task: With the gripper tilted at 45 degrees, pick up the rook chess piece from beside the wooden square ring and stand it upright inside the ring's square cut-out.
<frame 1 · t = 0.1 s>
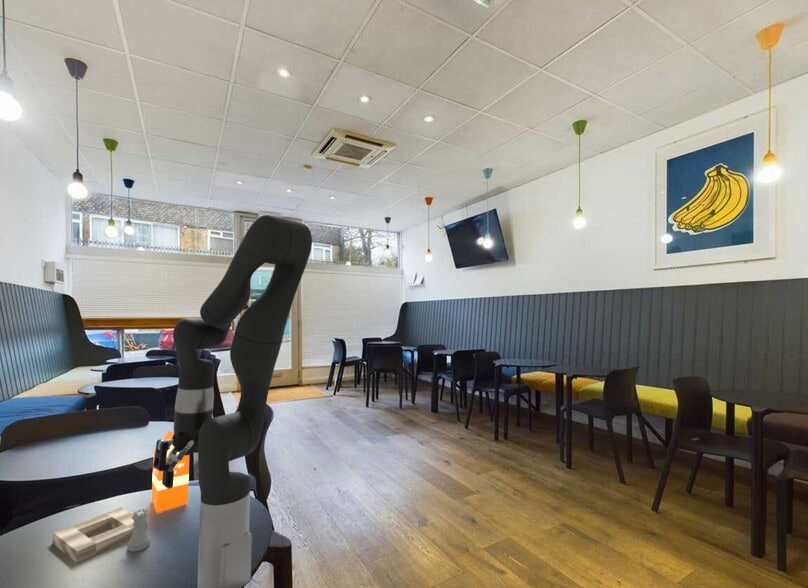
hand: (188, 480, 85), 17 cm above the table, tool pointing down, fingers open, 8 cm apart
orange juice: (169, 504, 110), on the table
rook chess piece: (138, 548, 89), on the table
wooden square ring: (100, 537, 92), on the table
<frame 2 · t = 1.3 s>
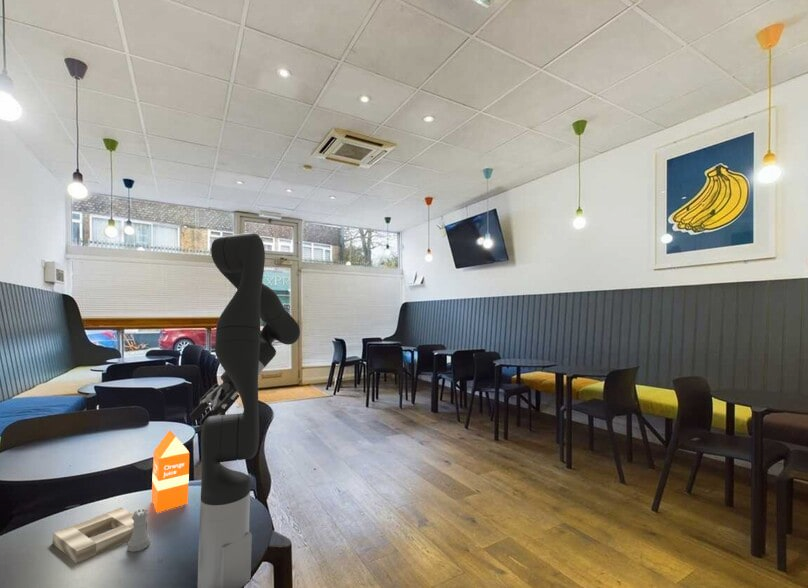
hand: (197, 421, 98), 27 cm above the table, tool tilted 45°, fingers open, 8 cm apart
nothing on the table moved.
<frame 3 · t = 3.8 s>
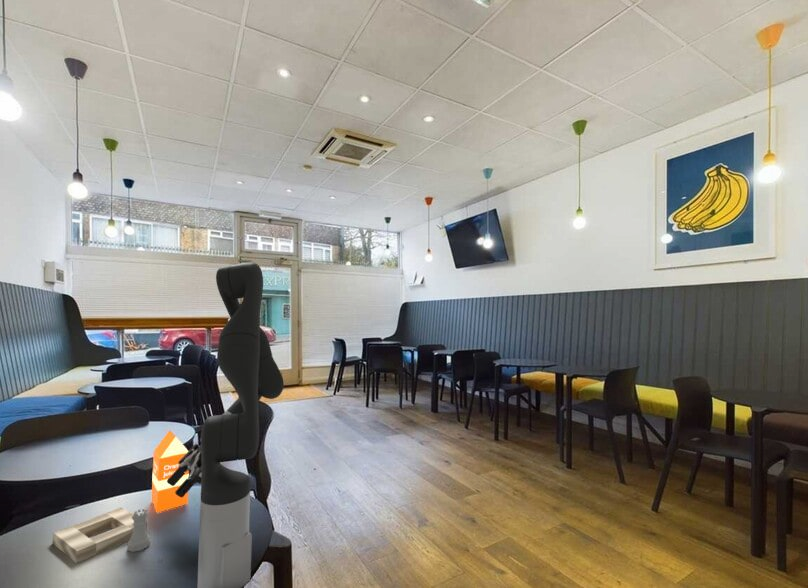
hand: (173, 489, 94), 11 cm above the table, tool tilted 45°, fingers open, 8 cm apart
nothing on the table moved.
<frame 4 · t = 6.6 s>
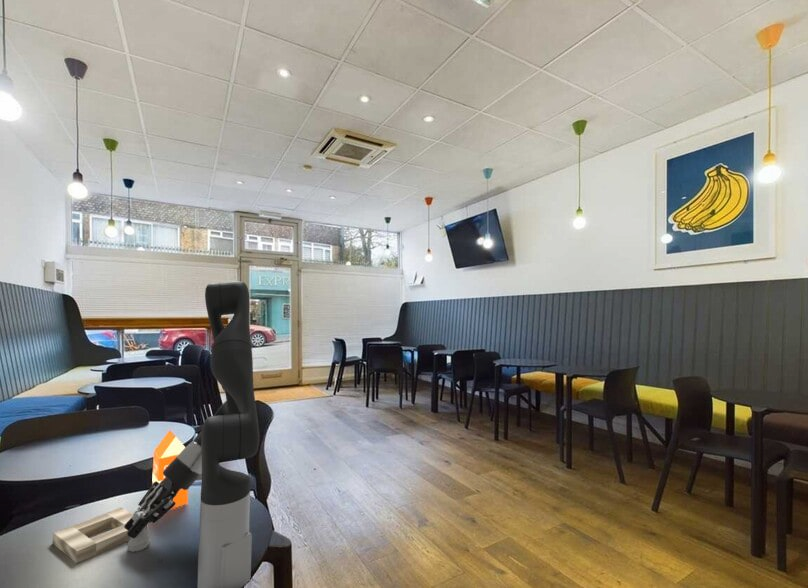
hand: (129, 532, 88), 4 cm above the table, tool tilted 45°, fingers closed on rook chess piece, 3 cm apart
rook chess piece: (138, 547, 89), on the table, touching gripper
everything else where it was.
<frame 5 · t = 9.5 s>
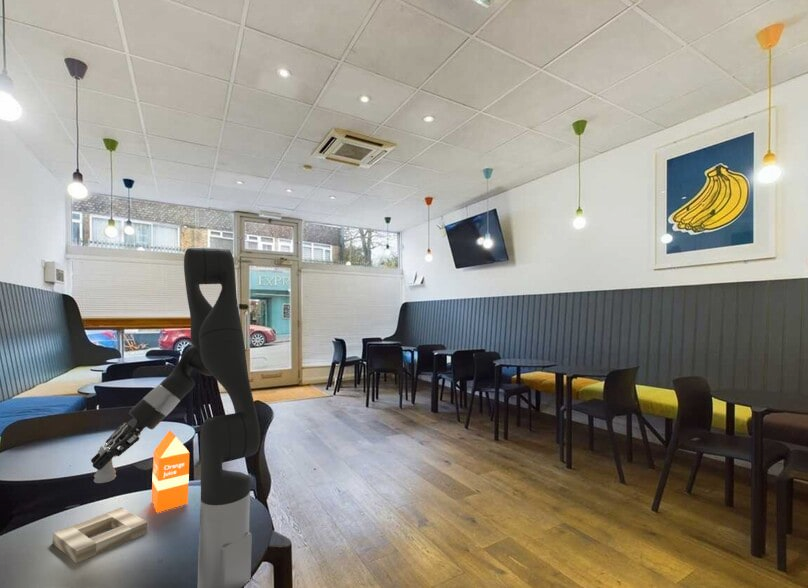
hand: (95, 465, 92), 18 cm above the table, tool tilted 45°, fingers closed on rook chess piece, 3 cm apart
rook chess piece: (104, 480, 93), point 13 cm above the table, touching gripper
everything else where it was.
when the fingers open (5 cm above the table, at t = 12.6 s): rook chess piece drops 1 cm, resting in wooden square ring.
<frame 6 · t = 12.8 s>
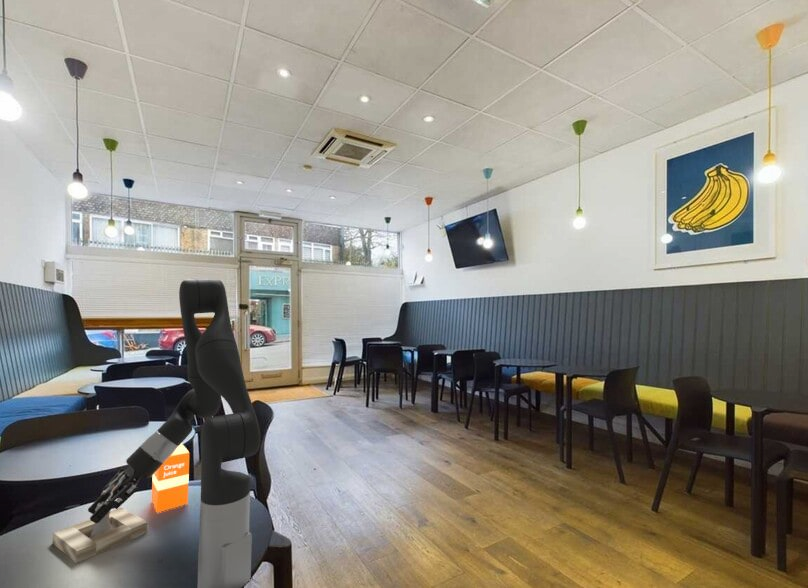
hand: (92, 516, 91), 6 cm above the table, tool tilted 45°, fingers open, 5 cm apart
rook chess piece: (101, 538, 92), resting in wooden square ring
everything else where it was.
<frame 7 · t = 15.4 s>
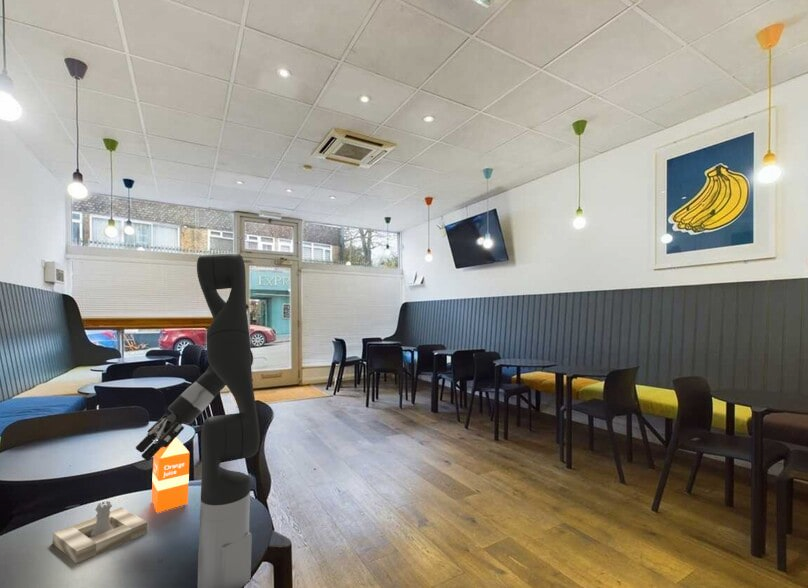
hand: (141, 454, 98), 18 cm above the table, tool tilted 45°, fingers open, 8 cm apart
nothing on the table moved.
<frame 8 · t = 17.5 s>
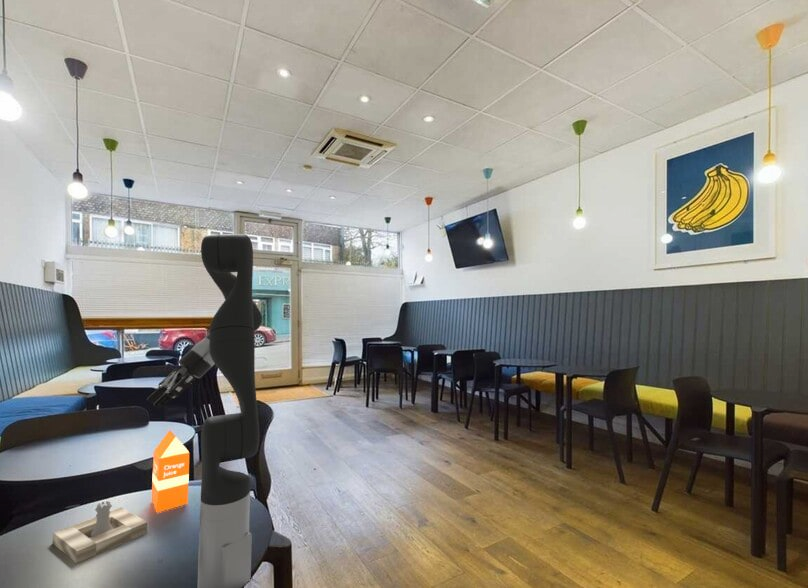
hand: (152, 404, 100), 31 cm above the table, tool tilted 45°, fingers open, 8 cm apart
nothing on the table moved.
at the end: rook chess piece 0.2 cm off-centre on the wooden square ring, point 0.0 cm above the wooden square ring's base; rook chess piece tilted 0°; the gripper is holding nothing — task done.
